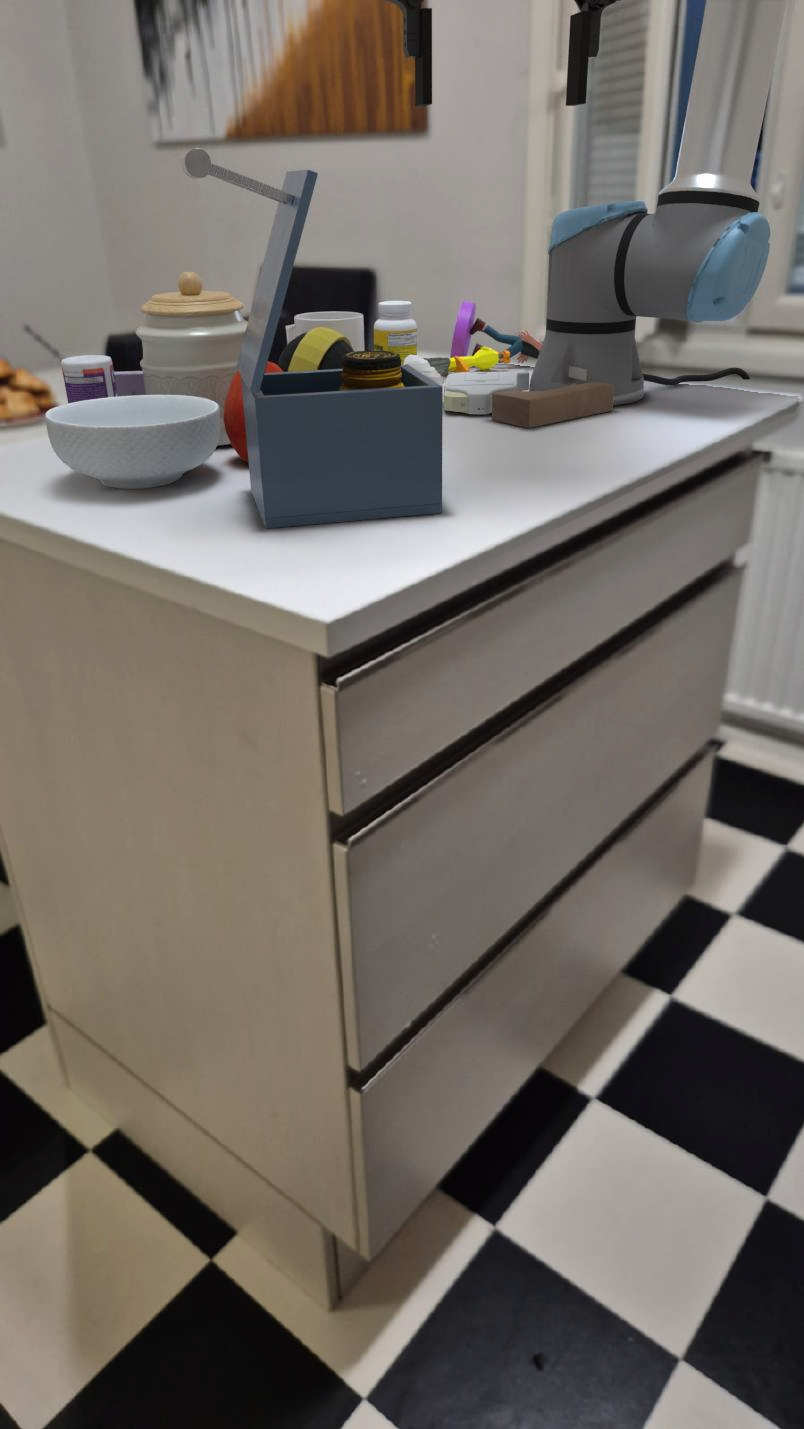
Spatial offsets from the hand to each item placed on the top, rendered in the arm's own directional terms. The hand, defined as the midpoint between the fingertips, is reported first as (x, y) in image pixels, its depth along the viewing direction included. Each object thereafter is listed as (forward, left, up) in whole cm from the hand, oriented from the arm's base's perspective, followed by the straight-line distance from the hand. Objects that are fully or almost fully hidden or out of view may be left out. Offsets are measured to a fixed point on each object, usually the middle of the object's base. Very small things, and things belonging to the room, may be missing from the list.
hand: (500, 105), depth 84 cm
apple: (+21, -13, -32) cm, 40 cm away
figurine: (-15, -65, -27) cm, 72 cm away
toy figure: (-22, -58, -30) cm, 68 cm away
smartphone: (+37, -35, -28) cm, 59 cm away
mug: (+10, -42, -32) cm, 53 cm away
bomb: (+16, -33, -25) cm, 44 cm away
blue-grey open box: (+16, +5, -32) cm, 36 cm away
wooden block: (-9, -21, -30) cm, 38 cm away
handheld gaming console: (-8, -27, -30) cm, 41 cm away
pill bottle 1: (+39, -24, -22) cm, 51 cm away
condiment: (+14, +5, -31) cm, 34 cm away
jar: (+27, -26, -32) cm, 49 cm away
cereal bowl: (+34, -9, -32) cm, 47 cm away
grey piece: (-5, -56, -32) cm, 65 cm away
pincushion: (-4, -39, -28) cm, 48 cm away
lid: (+21, +5, -13) cm, 25 cm away
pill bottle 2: (-3, -53, -32) cm, 62 cm away
